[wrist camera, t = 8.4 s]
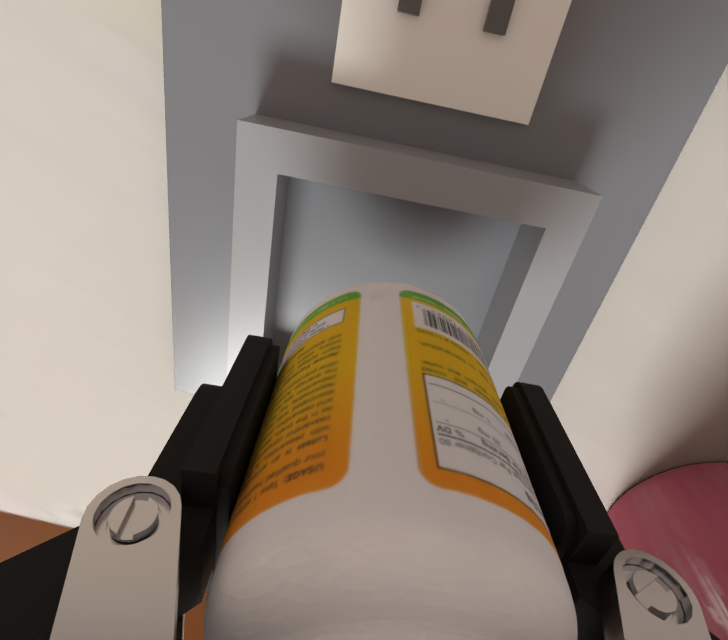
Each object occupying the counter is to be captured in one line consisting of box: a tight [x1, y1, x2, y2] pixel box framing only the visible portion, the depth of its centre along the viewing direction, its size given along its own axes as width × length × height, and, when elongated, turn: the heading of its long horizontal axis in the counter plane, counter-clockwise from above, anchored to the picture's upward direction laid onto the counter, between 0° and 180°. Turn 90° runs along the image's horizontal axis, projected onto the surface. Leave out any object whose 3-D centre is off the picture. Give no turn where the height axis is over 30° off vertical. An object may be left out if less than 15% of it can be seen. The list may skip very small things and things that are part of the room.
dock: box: [161, 0, 728, 401], centre depth 14 cm, size 16×20×3 cm
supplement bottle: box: [204, 282, 578, 640], centre depth 8 cm, size 5×5×10 cm
